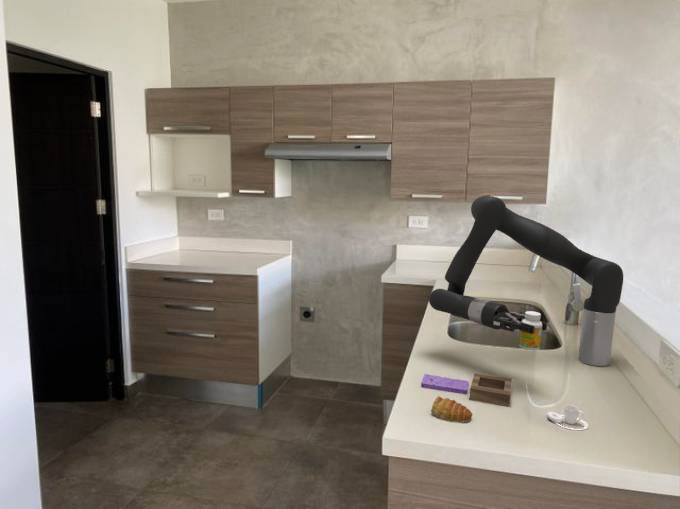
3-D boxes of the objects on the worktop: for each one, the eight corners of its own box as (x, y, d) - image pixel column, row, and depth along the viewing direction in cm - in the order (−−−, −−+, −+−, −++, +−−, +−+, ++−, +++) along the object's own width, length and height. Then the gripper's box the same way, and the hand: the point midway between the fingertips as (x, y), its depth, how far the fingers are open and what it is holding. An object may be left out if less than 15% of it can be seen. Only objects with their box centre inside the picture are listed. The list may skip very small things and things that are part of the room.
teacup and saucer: (542, 422, 124) (544, 406, 123) (556, 412, 129) (558, 396, 129) (580, 435, 118) (582, 419, 117) (593, 424, 123) (595, 408, 122)
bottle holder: (473, 382, 145) (474, 372, 145) (510, 388, 142) (511, 378, 141) (469, 399, 134) (470, 388, 134) (509, 406, 131) (510, 395, 130)
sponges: (424, 379, 148) (424, 373, 147) (469, 386, 144) (469, 380, 144) (420, 389, 141) (420, 382, 141) (467, 396, 137) (467, 389, 137)
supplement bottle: (516, 347, 141) (519, 312, 139) (522, 342, 145) (526, 309, 143) (536, 352, 137) (539, 317, 136) (542, 347, 142) (546, 313, 140)
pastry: (475, 416, 125) (476, 401, 124) (466, 427, 119) (467, 412, 119) (438, 406, 130) (439, 392, 129) (428, 416, 124) (429, 401, 123)
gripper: (473, 303, 146) (526, 318, 133) (503, 298, 155) (556, 311, 142) (471, 329, 147) (523, 346, 134) (501, 322, 156) (553, 337, 143)
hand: (539, 328), depth 138 cm, fingers closed on supplement bottle, 5 cm apart
